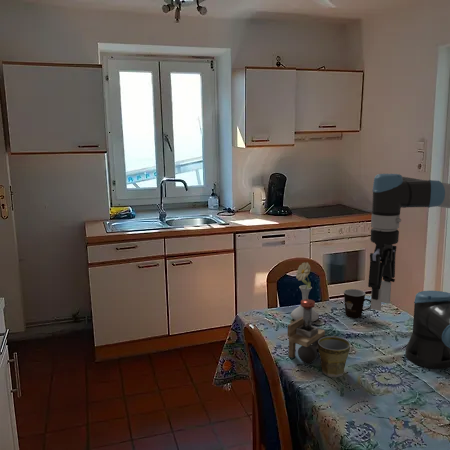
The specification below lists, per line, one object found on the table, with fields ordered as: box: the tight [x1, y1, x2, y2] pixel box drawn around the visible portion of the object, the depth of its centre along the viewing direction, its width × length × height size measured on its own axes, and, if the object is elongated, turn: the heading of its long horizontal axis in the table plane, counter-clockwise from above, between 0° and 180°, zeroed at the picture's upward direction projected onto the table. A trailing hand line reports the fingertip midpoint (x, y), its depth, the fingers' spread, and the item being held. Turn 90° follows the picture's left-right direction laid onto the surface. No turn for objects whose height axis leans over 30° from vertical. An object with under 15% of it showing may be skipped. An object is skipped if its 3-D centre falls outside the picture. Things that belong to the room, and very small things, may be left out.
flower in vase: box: [290, 261, 320, 323], centre depth 185 cm, size 13×11×25 cm
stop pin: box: [300, 298, 316, 331], centre depth 156 cm, size 5×5×11 cm
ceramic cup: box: [318, 335, 351, 378], centre depth 147 cm, size 13×10×10 cm
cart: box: [287, 317, 327, 364], centre depth 157 cm, size 10×12×12 cm
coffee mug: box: [343, 288, 371, 319], centre depth 189 cm, size 12×9×10 cm
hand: (380, 305), depth 135 cm, fingers open, 6 cm apart
